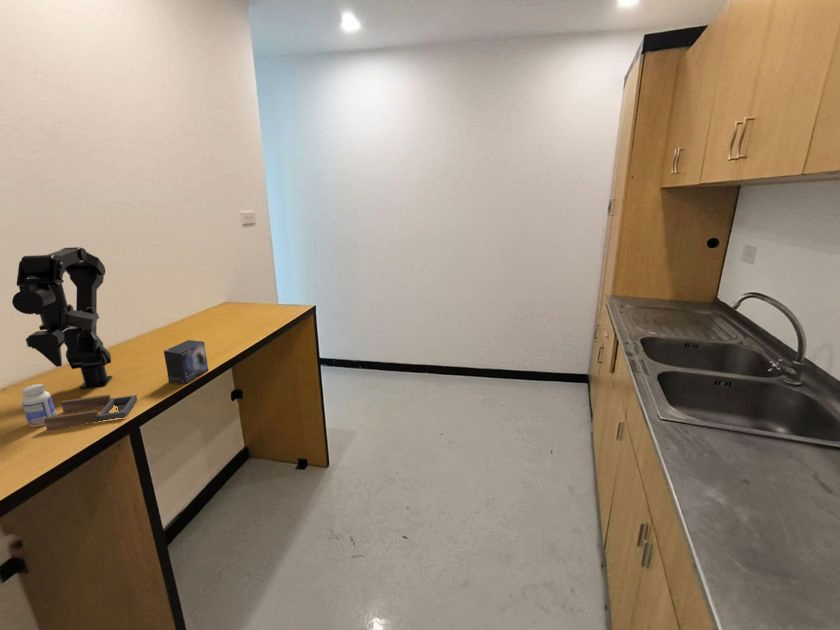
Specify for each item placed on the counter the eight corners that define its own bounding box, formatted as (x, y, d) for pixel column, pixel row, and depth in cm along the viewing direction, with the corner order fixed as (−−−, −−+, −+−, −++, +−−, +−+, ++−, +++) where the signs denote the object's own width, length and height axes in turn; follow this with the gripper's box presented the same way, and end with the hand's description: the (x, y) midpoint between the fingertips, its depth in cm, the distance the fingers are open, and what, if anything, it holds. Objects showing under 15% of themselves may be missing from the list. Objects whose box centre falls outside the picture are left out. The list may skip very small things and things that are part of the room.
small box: (186, 384, 123) (180, 352, 120) (167, 382, 124) (161, 351, 121) (209, 370, 133) (205, 340, 130) (192, 368, 134) (187, 339, 131)
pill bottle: (45, 415, 106) (35, 381, 103) (62, 417, 105) (53, 383, 102) (22, 426, 100) (11, 391, 98) (41, 428, 100) (30, 393, 97)
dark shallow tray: (113, 404, 111) (111, 398, 111) (137, 400, 113) (136, 394, 113) (99, 422, 102) (97, 416, 102) (126, 418, 104) (124, 412, 104)
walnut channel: (65, 410, 108) (62, 400, 107) (112, 404, 111) (109, 394, 110) (47, 430, 99) (43, 419, 98) (98, 422, 102) (95, 412, 101)
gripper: (74, 310, 98) (89, 369, 102) (103, 293, 115) (114, 344, 119) (16, 314, 94) (34, 375, 99) (54, 296, 111) (68, 349, 116)
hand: (67, 359), depth 108 cm, fingers open, 9 cm apart
